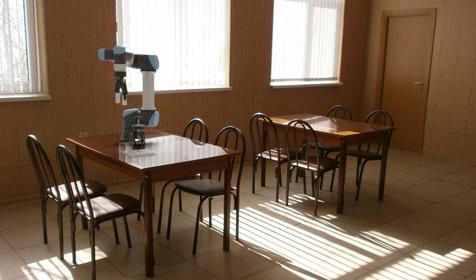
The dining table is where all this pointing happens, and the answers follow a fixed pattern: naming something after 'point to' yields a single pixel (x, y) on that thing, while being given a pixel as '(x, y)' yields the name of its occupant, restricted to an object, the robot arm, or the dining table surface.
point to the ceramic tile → (139, 153)
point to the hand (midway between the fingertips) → (121, 104)
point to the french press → (134, 137)
